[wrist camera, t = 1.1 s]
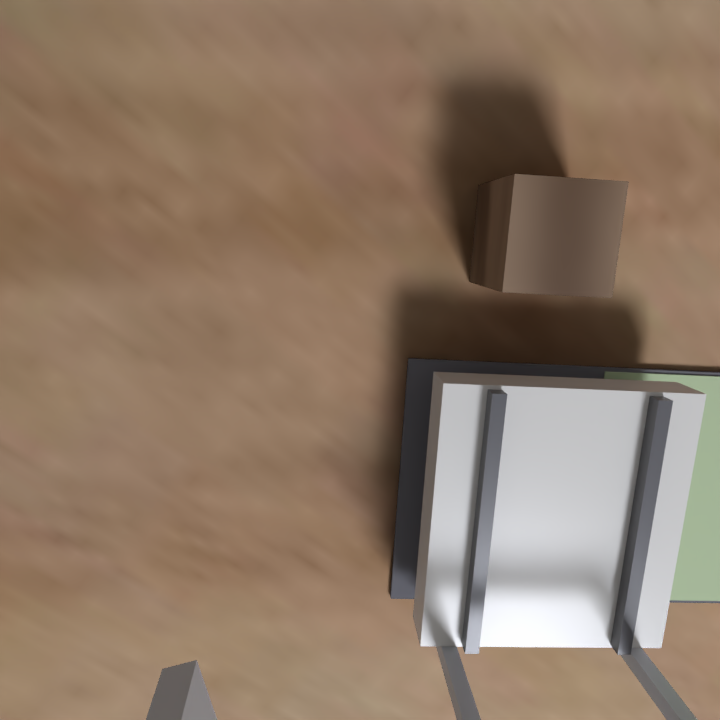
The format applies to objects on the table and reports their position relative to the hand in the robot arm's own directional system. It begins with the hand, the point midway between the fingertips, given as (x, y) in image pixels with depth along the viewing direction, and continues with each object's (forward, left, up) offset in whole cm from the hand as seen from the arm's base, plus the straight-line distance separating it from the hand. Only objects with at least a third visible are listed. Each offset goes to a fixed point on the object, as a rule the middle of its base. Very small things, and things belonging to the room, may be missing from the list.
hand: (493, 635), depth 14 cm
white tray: (+8, -5, -20) cm, 22 cm away
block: (+6, +9, -20) cm, 23 cm away
